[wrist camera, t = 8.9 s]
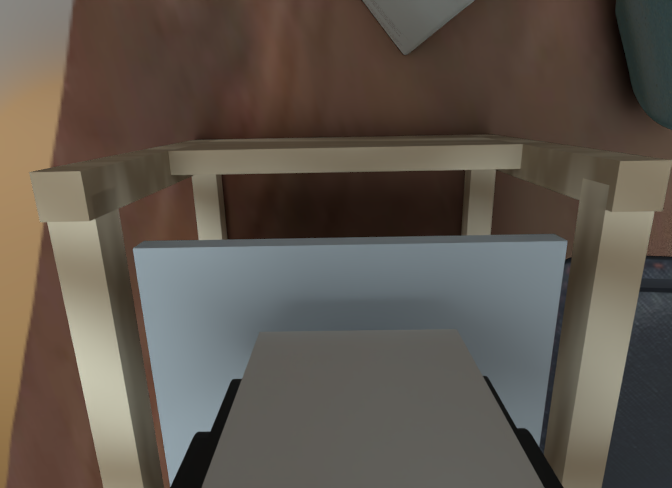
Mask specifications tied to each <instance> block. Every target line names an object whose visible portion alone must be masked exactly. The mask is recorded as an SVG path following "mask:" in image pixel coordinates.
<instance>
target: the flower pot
mask: <svg viewBox="0 0 672 488" xmlns="http://www.w3.org/2000/svg"><path fill="white" fill-rule="evenodd" d="M615 11H616V18H617V23H618V27H619V31H620V35H621V39H622V44H623V48H624V52H625V57H626V61H627V66H628V70H629V75H630V80H631V84H632V88H633V92H634V94H635V96H636V98H637V100H638V102H639V104H640V106H641V107H642V108H643V110H644V111H645V112H646V113H647V115H648V116H650V117H651V118H652V119H653V120H654V121H656V122H657V123H659V124H660V125H662V126H664V127H666V128H669V129H671V130H672V0H616V10H615Z"/></svg>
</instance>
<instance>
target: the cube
mask: <svg viewBox="0 0 672 488" xmlns="http://www.w3.org/2000/svg"><path fill="white" fill-rule="evenodd" d="M202 488H544V486H543V484H542V483H541V481H540V479H539V477H538V475H537V473H536V472H535V470H534V468H533V466H532V464H531V463H530V461H529V459H528V457H527V455H526V454H525V452H524V450H523V448H522V446H521V445H520V443H519V441H518V439H517V437H516V435H515V434H514V432H513V430H512V428H511V426H510V425H509V423H508V421H507V419H506V417H505V416H504V414H503V412H502V410H501V408H500V407H499V405H498V403H497V401H496V399H495V397H494V396H493V394H492V392H491V390H490V388H489V387H488V385H487V383H486V381H485V379H484V378H483V376H482V374H481V372H480V370H479V369H478V367H477V365H476V363H475V361H474V359H473V358H472V356H471V354H470V352H469V350H468V349H467V347H466V345H465V343H464V341H463V340H462V338H461V336H460V334H459V332H458V331H457V329H426V330H353V331H280V332H259V334H258V337H257V340H256V343H255V345H254V348H253V351H252V353H251V356H250V359H249V361H248V364H247V367H246V369H245V372H244V375H243V378H242V380H241V383H240V386H239V388H238V391H237V394H236V396H235V399H234V402H233V404H232V407H231V410H230V413H229V415H228V418H227V421H226V423H225V426H224V429H223V431H222V434H221V437H220V439H219V442H218V445H217V448H216V450H215V453H214V456H213V458H212V461H211V464H210V466H209V469H208V472H207V474H206V477H205V480H204V483H203V485H202Z"/></svg>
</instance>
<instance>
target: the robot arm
mask: <svg viewBox="0 0 672 488" xmlns="http://www.w3.org/2000/svg"><path fill="white" fill-rule="evenodd" d="M483 378H484V379H485V381H486V383H487V385H488V387H489V388H490V390H491V392H492V394H493V396H494V397H495V399H496V401H497V403H498V405H499V407H500V408H501V410H502V412H503V414H504V416H505V417H506V419H507V421H508V423H509V425H510V426H511V428H512V430H513V432H514V434H515V435H516V437H517V439H518V441H519V443H520V445H521V446H522V448H523V450H524V452H525V454H526V455H527V457H528V459H529V461H530V463H531V464H532V466H533V468H534V470H535V472H536V473H537V475H538V477H539V479H540V481H541V483H542V484H543V486H544V488H564V487H563V486H562V484H561V483H560V481H559V479H558V478H557V476H556V474H555V473H554V471H553V469H552V468H551V466H550V464H549V463H548V461H547V459H546V458H545V456H544V454H543V453H542V451H541V449H540V448H539V446H538V444H537V443H536V441H535V439H534V438H533V436H532V434H531V433H530V432H529V431H528V430H527V429H525V428H517V427H516V426H515V424H514V422H513V420H512V418H511V417H510V415H509V413H508V411H507V410H506V408H505V406H504V404H503V403H502V401H501V399H500V397H499V396H498V394H497V392H496V390H495V389H494V387H493V385H492V383H491V382H490V380H489V378H488V377H487V376H483ZM241 380H242V379H232V380H231V382H230V385H229V387H228V390H227V392H226V394H225V397H224V399H223V402H222V404H221V407H220V409H219V412H218V414H217V416H216V419H215V421H214V424H213V426H212V429H211V431H207V432H197V433H195V435H194V437H193V439H192V441H191V443H190V445H189V447H188V450H187V452H186V454H185V456H184V458H183V460H182V463H181V465H180V467H179V469H178V471H177V474H176V476H175V478H174V480H173V482H172V485H171V487H170V488H202V485H203V483H204V480H205V477H206V474H207V472H208V469H209V466H210V464H211V461H212V458H213V456H214V453H215V450H216V448H217V445H218V442H219V439H220V437H221V434H222V431H223V429H224V426H225V423H226V421H227V418H228V415H229V413H230V410H231V407H232V404H233V402H234V399H235V396H236V394H237V391H238V388H239V386H240V383H241Z"/></svg>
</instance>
